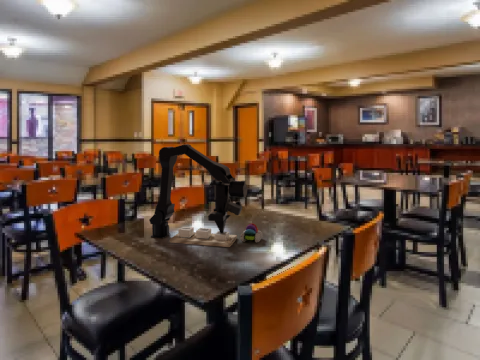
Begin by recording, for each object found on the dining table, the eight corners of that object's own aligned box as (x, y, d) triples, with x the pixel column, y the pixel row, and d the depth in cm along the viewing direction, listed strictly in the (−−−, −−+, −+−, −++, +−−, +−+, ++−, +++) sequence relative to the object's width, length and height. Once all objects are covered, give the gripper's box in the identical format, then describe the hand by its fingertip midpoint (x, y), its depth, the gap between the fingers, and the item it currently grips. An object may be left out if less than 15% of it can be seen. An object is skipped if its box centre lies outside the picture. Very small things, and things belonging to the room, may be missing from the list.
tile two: (196, 237, 145) (196, 230, 145) (200, 234, 150) (200, 227, 150) (207, 238, 144) (207, 231, 144) (211, 235, 149) (211, 228, 149)
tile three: (214, 241, 144) (214, 234, 143) (217, 237, 149) (217, 230, 148) (226, 242, 143) (226, 234, 142) (229, 238, 147) (229, 231, 147)
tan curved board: (169, 242, 144) (169, 239, 144) (180, 234, 156) (180, 231, 156) (229, 247, 139) (229, 243, 139) (236, 238, 150) (236, 235, 150)
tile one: (178, 236, 147) (178, 229, 147) (182, 233, 152) (182, 226, 152) (189, 237, 146) (189, 230, 146) (193, 234, 151) (193, 227, 150)
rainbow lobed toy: (263, 238, 151) (263, 222, 150) (258, 244, 142) (258, 227, 141) (244, 236, 154) (244, 220, 153) (238, 243, 144) (238, 226, 143)
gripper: (235, 201, 132) (235, 240, 134) (245, 193, 150) (245, 228, 152) (207, 199, 135) (208, 238, 137) (220, 192, 153) (220, 226, 155)
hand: (221, 232), depth 145 cm, fingers closed, pressing on tile three
